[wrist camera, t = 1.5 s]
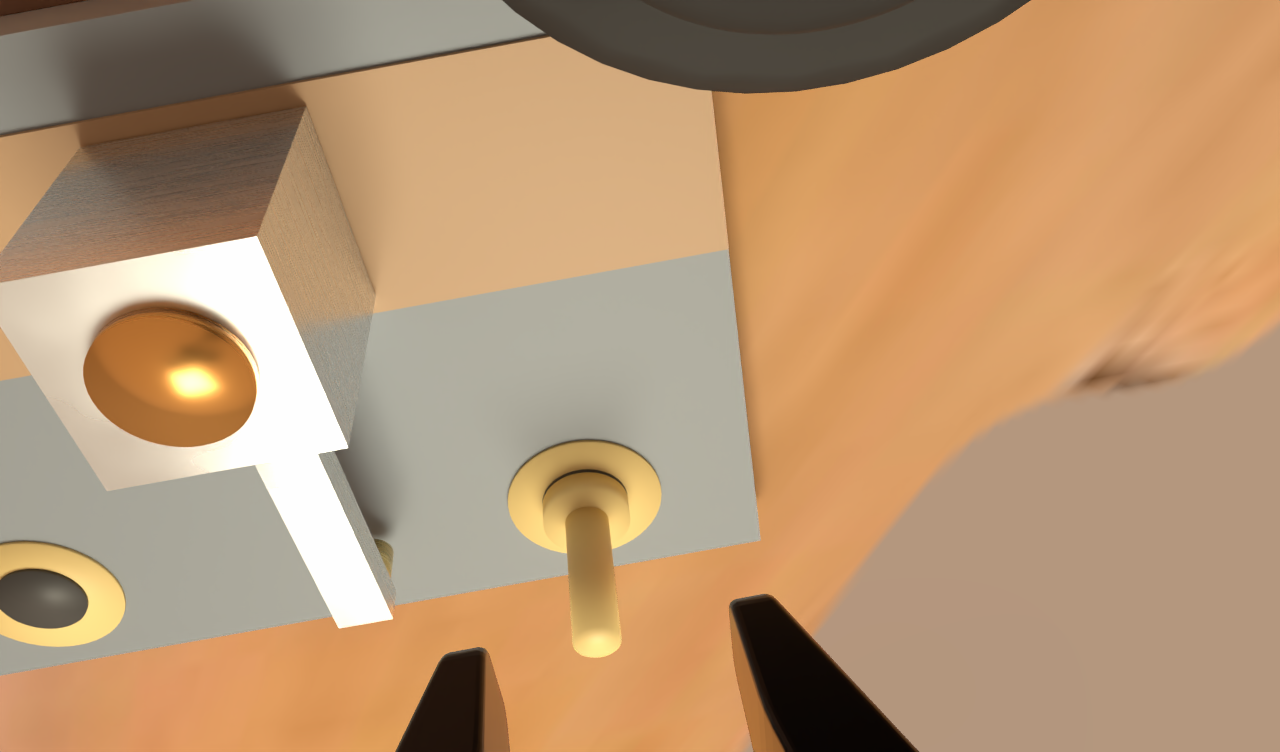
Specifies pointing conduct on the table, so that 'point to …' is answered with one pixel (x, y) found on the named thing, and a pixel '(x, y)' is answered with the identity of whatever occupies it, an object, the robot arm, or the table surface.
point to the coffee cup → (760, 37)
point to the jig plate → (401, 318)
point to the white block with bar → (208, 326)
